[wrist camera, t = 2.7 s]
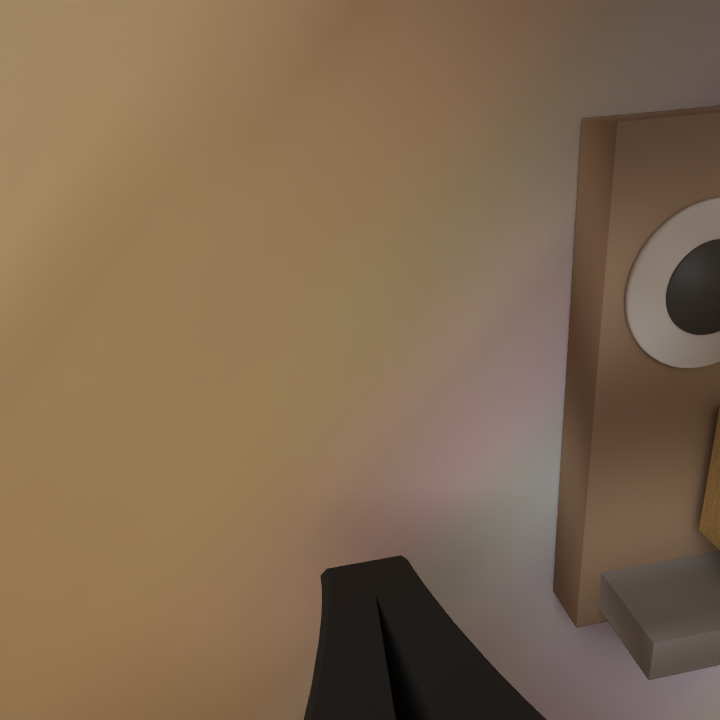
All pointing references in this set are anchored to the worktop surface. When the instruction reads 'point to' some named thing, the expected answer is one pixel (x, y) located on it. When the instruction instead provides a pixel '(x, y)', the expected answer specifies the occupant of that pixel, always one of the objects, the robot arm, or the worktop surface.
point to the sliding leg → (712, 495)
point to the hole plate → (644, 388)
